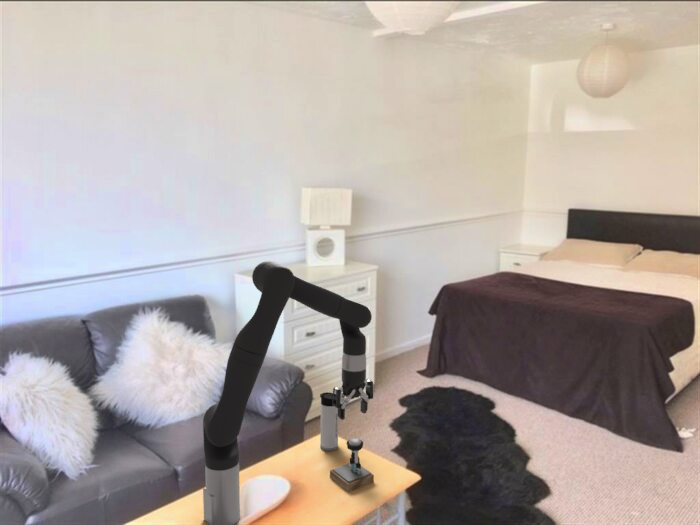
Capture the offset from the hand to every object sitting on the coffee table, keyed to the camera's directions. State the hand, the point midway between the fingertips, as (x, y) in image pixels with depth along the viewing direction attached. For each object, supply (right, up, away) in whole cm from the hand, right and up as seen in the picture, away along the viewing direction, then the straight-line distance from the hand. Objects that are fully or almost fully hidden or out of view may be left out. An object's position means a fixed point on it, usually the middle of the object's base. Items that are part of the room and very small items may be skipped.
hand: (352, 415), depth 177 cm
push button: (+1, -19, +4) cm, 19 cm away
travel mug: (-8, -18, +24) cm, 32 cm away
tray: (0, -22, +3) cm, 22 cm away
